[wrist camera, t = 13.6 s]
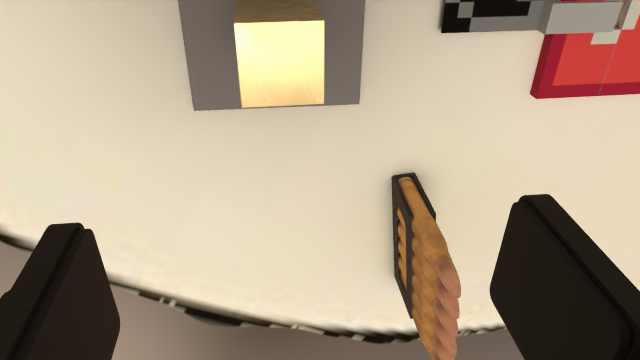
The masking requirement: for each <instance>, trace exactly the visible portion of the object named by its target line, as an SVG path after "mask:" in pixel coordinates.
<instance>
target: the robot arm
mask: <svg viewBox="0 0 640 360" xmlns="http://www.w3.org/2000/svg"><path fill="white" fill-rule="evenodd" d="M490 296H491V299H492V302H493V304H494V305H495V307H496V309H497V311H498V313H499V314H500V316H501V318H502V320H503V322H504V323H505V325H506V327H507V329H508V330H509V332H510V334H511V336H512V338H513V339H514V341H515V343H516V345H517V347H518V348H519V350H520V352H521V354H522V356H523V357H524V359H525V360H640V291H639V290H638V289H637V288H636V287H635V286H634V285H633V284H632V283H631V281H630V280H629V279H628V278H627V277H626V276H625V275H624V274H623V273H622V272H621V271H620V270H619V268H618V267H617V266H616V265H615V264H614V263H613V262H612V261H611V260H610V259H609V258H608V257H607V255H606V254H605V253H604V252H603V251H602V250H601V249H600V248H599V247H598V246H597V245H596V244H595V243H594V241H593V240H592V239H591V238H590V237H589V236H588V235H587V234H586V233H585V232H584V231H583V230H582V228H581V227H580V226H579V225H578V224H577V223H576V222H575V221H574V220H573V219H572V218H571V217H570V215H569V214H568V213H567V212H566V211H565V210H564V209H563V208H562V207H561V206H560V205H559V204H558V203H557V201H556V200H555V199H554V198H553V197H552V196H550V195H548V194H540V195H524V196H522V197H521V198H520V199H519V201H518V202H515V203H514V204H513V205H512V207H511V211H510V214H509V218H508V222H507V225H506V229H505V233H504V236H503V240H502V244H501V247H500V251H499V255H498V259H497V262H496V266H495V270H494V273H493V277H492V281H491V284H490ZM119 330H120V317H119V314H118V310H117V307H116V304H115V301H114V298H113V294H112V291H111V288H110V284H109V281H108V278H107V275H106V272H105V268H104V265H103V262H102V259H101V256H100V252H99V249H98V246H97V243H96V240H95V236H94V234H93V231H92V230H91V229H84V227H83V225H82V224H81V223H65V224H51V225H49V226H48V227H47V229H46V230H45V232H44V234H43V235H42V237H41V239H40V241H39V242H38V244H37V246H36V247H35V249H34V251H33V253H32V254H31V256H30V258H29V259H28V261H27V263H26V265H25V266H24V268H23V270H22V271H21V273H20V275H19V277H18V278H17V280H16V282H15V283H14V285H13V287H12V288H11V290H9V291H8V292H6V293H4V295H3V296H2V297H1V298H0V360H111V358H112V355H113V352H114V348H115V345H116V341H117V338H118V335H119Z"/></svg>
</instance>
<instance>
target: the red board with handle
mask: <svg viewBox="0 0 640 360" xmlns="http://www.w3.org/2000/svg"><path fill="white" fill-rule="evenodd" d="M523 30H538V31H540V32H542V33H544V34H545V38H544V42H543V45H542V49H541V53H540V57H539V60H538V64H537V68H536V72H535V76H534V80H533V84H532V88H531V92H530V94H531V95H532V96H533V97H535V98H536V99H543V98H564V97H584V96H604V95H625V94H640V0H621V1H619V0H446V2H445V9H444V16H443V23H442V29H441V33H460V32H492V31H523Z"/></svg>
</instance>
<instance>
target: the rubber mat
mask: <svg viewBox="0 0 640 360" xmlns="http://www.w3.org/2000/svg"><path fill="white" fill-rule="evenodd" d="M314 1H315V3H316V5H317V7H318V9H319V11H320V13H321V15H322V17H323V19H324V104H309V105H288V106H267V107H246V108H242V103H241V93H240V82H239V71H238V61H237V50H236V39H235V29H234V19H235V12H236V5H237V0H178V3H179V10H180V17H181V24H182V31H183V38H184V45H185V52H186V59H187V66H188V73H189V80H190V86H191V93H192V100H193V107H194V111H198V110H223V109H248V108H273V107H298V106H323V105H349V104H359V99H360V81H361V63H362V45H363V27H364V9H365V0H314Z"/></svg>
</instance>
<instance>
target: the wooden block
mask: <svg viewBox="0 0 640 360" xmlns="http://www.w3.org/2000/svg"><path fill="white" fill-rule="evenodd" d="M234 29H235V39H236V50H237V61H238V71H239V82H240V93H241V103H242V108H246V107H267V106H288V105H309V104H324V19H323V17H322V15H321V13H320V11H319V9H318V7H317V5H316V3H315V1H314V0H237V5H236V12H235V19H234Z"/></svg>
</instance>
